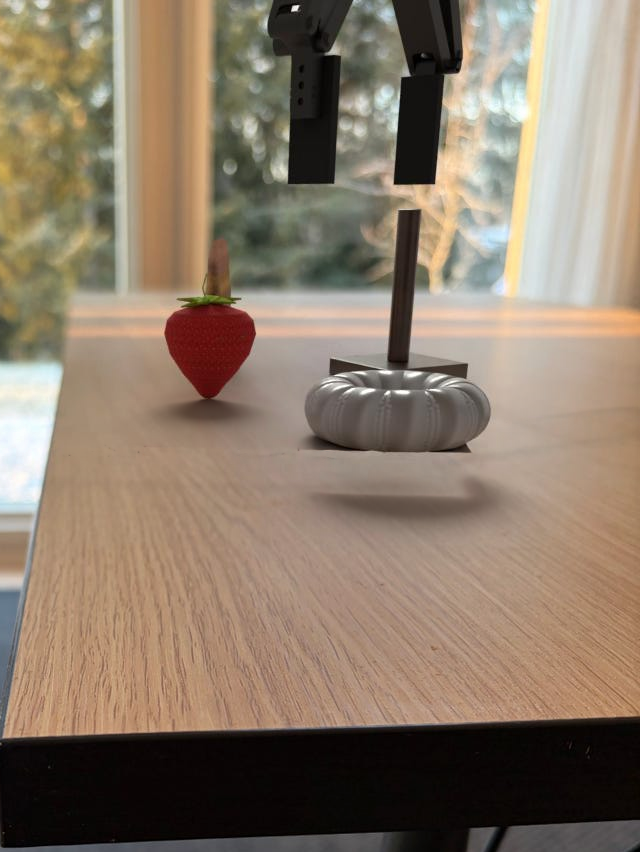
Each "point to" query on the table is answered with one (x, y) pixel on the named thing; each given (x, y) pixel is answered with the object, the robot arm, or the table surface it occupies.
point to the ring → (397, 410)
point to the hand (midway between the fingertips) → (366, 185)
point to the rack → (401, 314)
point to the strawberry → (209, 341)
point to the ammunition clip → (218, 270)
